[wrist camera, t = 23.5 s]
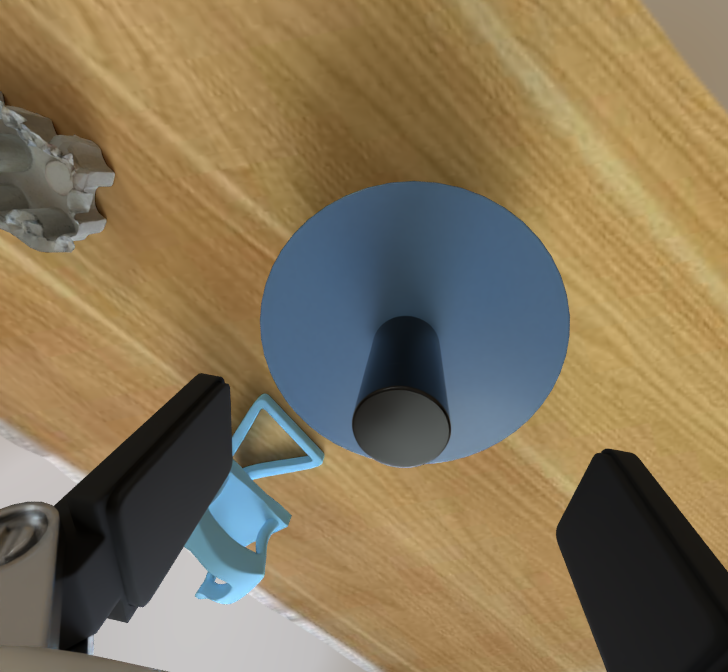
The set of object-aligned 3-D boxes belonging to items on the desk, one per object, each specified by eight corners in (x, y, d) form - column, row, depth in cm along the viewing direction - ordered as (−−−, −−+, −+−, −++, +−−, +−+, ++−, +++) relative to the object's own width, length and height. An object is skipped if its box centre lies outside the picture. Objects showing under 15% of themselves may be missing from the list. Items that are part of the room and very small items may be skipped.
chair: (202, 435, 32) (92, 566, 21) (266, 391, 29) (177, 516, 18) (261, 491, 34) (187, 639, 23) (326, 455, 31) (278, 603, 20)
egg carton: (126, 158, 24) (72, 154, 20) (102, 256, 27) (51, 269, 23) (-32, 61, 22) (-121, 38, 19) (-39, 175, 25) (-117, 174, 22)
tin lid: (271, 159, 15) (161, 143, 9) (612, 207, 14) (779, 231, 8) (266, 424, 21) (197, 536, 14) (509, 471, 20) (554, 615, 13)
